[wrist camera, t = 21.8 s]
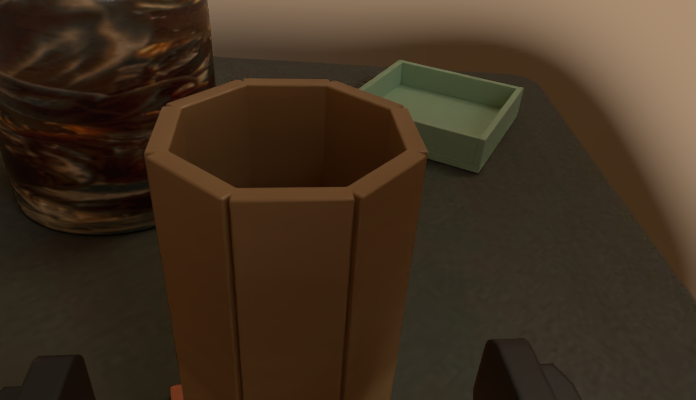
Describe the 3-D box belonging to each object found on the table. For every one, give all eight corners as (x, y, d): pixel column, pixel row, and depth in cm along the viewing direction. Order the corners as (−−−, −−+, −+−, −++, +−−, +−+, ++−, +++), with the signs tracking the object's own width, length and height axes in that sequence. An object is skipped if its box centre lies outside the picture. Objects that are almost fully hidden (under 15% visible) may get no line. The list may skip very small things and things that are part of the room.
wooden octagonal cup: (408, 444, 21) (468, 128, 14) (292, 588, 17) (294, 241, 10) (286, 357, 24) (285, 62, 17) (164, 460, 20) (94, 127, 13)
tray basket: (516, 117, 47) (523, 87, 46) (478, 173, 39) (485, 140, 38) (396, 87, 51) (399, 59, 50) (338, 133, 43) (340, 101, 42)
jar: (148, 123, 43) (114, -102, 34) (258, 180, 37) (248, -75, 29) (-18, 184, 35) (-114, -90, 26) (89, 268, 29) (9, -49, 21)
